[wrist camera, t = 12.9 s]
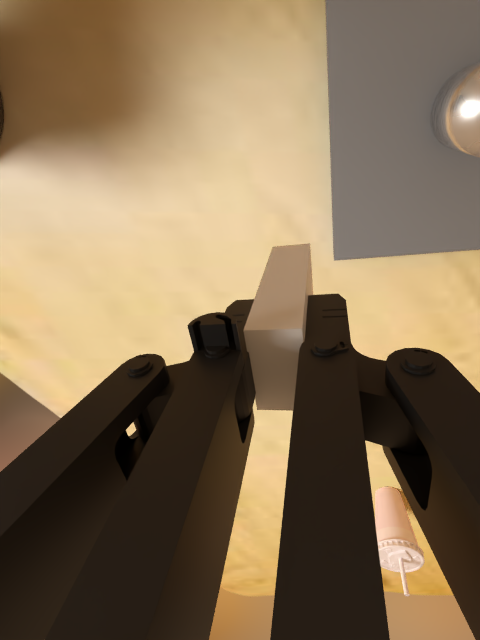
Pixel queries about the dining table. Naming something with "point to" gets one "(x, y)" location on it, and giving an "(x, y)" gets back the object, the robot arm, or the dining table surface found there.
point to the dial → (459, 112)
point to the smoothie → (396, 535)
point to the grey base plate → (398, 127)
